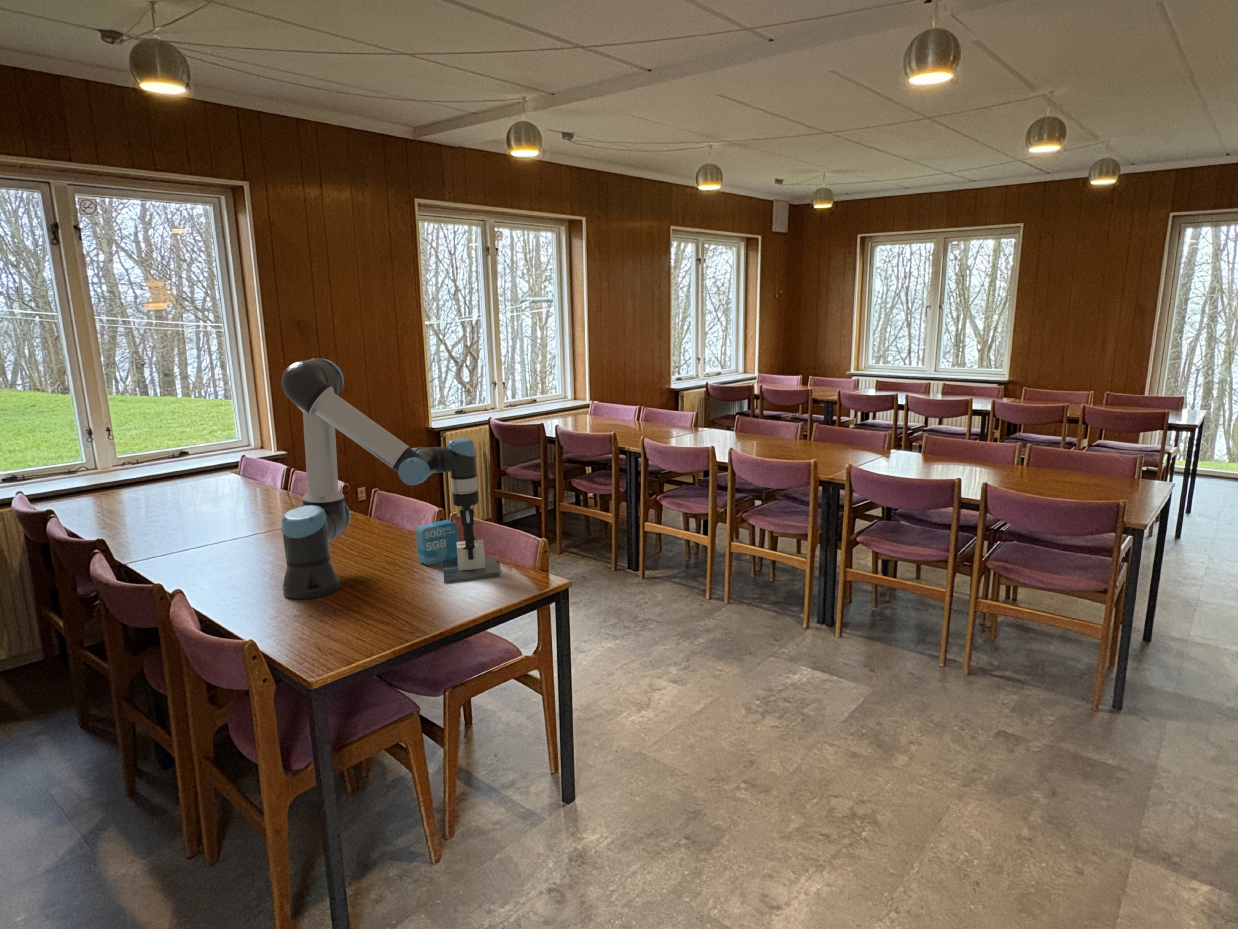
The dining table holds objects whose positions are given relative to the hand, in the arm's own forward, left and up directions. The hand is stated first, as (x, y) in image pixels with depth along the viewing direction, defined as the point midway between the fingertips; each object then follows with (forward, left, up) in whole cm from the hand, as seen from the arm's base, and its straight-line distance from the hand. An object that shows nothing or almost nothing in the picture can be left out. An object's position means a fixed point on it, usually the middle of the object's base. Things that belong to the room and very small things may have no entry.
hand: (470, 565), depth 233 cm
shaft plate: (0, 0, -2) cm, 2 cm away
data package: (+7, +15, -2) cm, 17 cm away
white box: (0, 0, 0) cm, 0 cm away
